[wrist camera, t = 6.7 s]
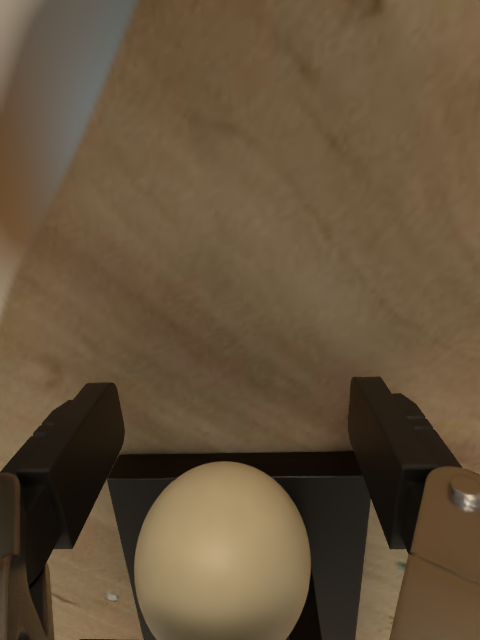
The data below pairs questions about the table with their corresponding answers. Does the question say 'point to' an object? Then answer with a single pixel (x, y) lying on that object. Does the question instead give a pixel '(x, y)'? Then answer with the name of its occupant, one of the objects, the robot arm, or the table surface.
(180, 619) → the lever
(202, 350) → the table surface
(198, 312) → the table surface
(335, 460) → the bracket
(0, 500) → the robot arm
